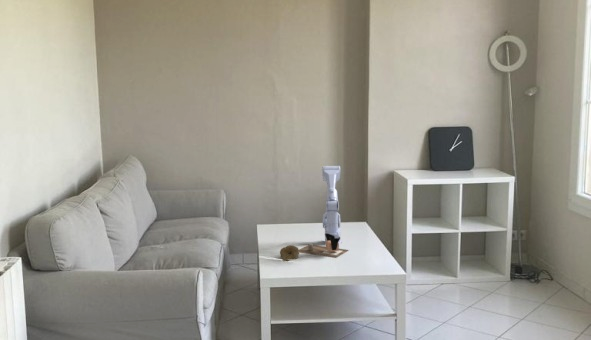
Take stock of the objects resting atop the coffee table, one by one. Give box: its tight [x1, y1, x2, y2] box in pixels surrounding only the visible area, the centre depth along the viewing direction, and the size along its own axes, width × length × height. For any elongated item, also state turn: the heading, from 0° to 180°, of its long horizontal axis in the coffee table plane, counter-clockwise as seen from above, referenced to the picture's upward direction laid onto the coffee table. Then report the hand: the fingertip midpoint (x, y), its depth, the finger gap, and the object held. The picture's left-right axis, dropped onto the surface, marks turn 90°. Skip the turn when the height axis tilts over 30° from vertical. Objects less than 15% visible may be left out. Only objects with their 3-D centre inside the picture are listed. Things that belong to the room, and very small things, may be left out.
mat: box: [323, 250, 343, 255], centre depth 318 cm, size 8×8×1 cm
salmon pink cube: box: [325, 240, 340, 252], centre depth 317 cm, size 5×5×4 cm
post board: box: [298, 242, 350, 259], centre depth 321 cm, size 16×24×4 cm, turn 60°
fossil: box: [279, 245, 300, 262], centre depth 310 cm, size 9×4×10 cm
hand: (332, 248), depth 317 cm, fingers closed on salmon pink cube, 5 cm apart
